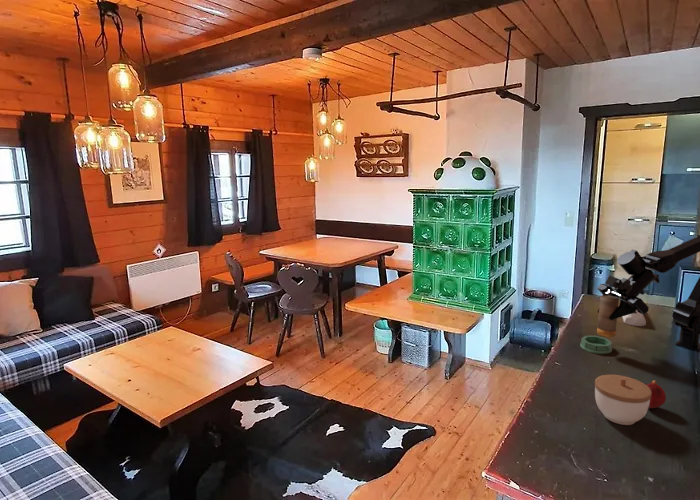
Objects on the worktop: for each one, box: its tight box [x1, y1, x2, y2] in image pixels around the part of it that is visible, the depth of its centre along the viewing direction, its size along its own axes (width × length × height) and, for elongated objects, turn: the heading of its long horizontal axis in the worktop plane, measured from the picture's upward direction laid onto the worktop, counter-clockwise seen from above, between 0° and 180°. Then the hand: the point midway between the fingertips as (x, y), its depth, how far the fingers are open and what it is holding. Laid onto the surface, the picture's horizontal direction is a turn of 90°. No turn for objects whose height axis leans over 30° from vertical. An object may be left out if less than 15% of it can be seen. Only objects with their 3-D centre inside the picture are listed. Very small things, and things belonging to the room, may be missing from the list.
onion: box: [646, 379, 667, 409], centre depth 120 cm, size 6×6×8 cm
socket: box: [579, 335, 613, 355], centre depth 158 cm, size 10×10×3 cm
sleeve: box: [596, 295, 620, 338], centre depth 152 cm, size 6×6×13 cm
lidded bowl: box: [594, 374, 652, 426], centre depth 116 cm, size 13×13×11 cm
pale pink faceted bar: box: [621, 310, 647, 327], centre depth 187 cm, size 7×7×24 cm
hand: (604, 316), depth 152 cm, fingers closed on sleeve, 5 cm apart
